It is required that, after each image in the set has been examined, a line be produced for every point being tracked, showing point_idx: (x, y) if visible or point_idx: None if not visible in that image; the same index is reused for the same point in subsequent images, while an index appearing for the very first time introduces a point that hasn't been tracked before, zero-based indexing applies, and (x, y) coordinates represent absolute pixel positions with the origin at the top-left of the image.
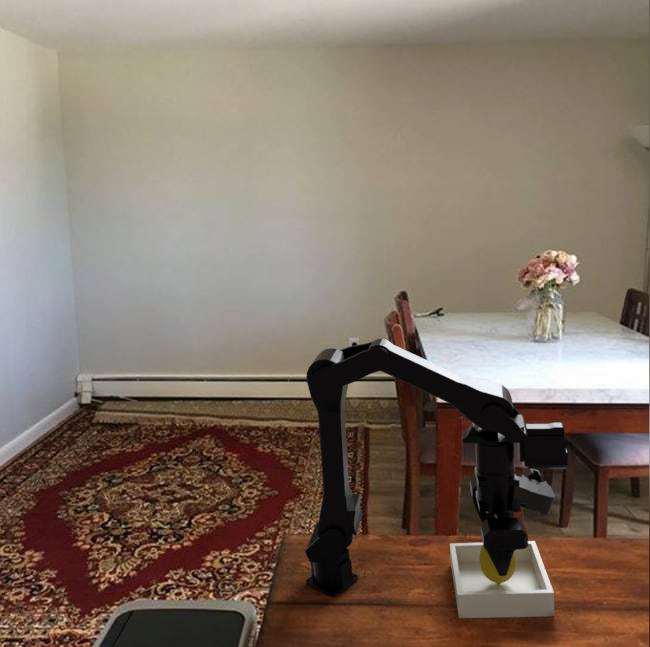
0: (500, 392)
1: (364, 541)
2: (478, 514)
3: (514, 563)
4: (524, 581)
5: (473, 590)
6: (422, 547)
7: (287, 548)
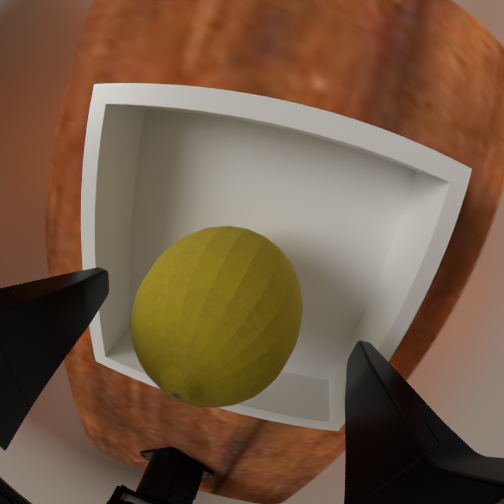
0: None
1: (76, 399)
2: (31, 405)
3: (273, 259)
4: (256, 174)
5: None
6: None
7: (108, 455)
